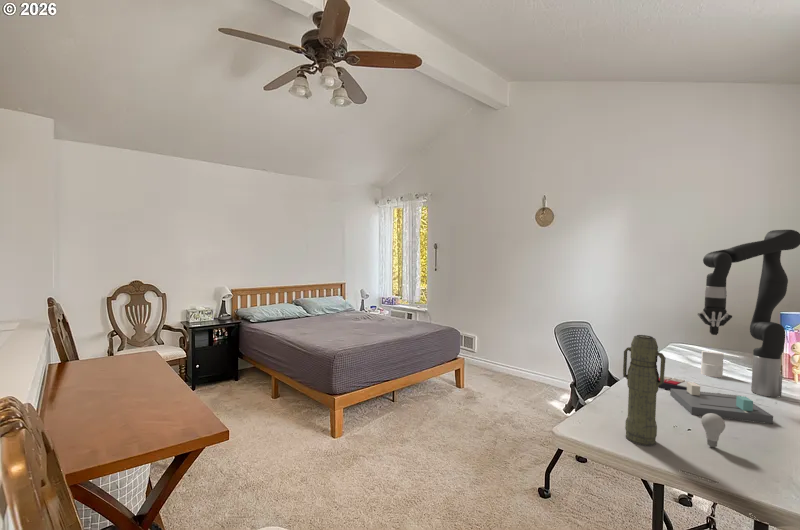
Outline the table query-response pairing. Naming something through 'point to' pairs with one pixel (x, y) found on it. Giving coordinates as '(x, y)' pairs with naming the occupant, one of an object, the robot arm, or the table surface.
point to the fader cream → (693, 388)
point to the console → (718, 406)
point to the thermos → (643, 389)
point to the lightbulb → (712, 428)
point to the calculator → (673, 384)
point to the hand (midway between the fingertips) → (713, 334)
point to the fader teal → (744, 403)
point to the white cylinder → (712, 364)
